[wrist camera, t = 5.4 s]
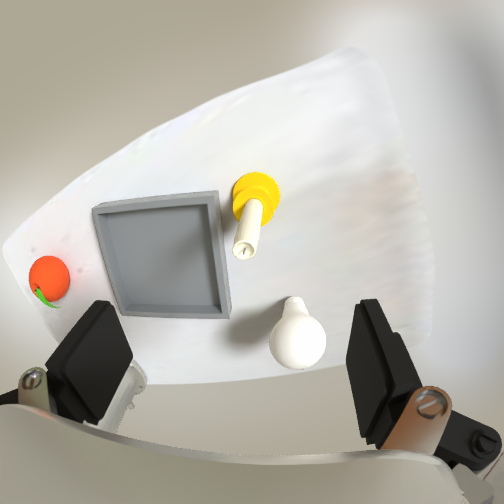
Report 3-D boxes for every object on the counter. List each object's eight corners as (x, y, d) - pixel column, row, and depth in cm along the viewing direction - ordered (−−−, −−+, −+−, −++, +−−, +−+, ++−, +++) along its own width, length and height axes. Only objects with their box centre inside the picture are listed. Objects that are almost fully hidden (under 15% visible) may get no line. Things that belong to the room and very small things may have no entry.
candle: (288, 202, 32) (302, 267, 17) (249, 225, 33) (232, 303, 19) (263, 162, 30) (255, 195, 16) (223, 188, 31) (183, 241, 17)
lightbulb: (326, 297, 36) (341, 357, 26) (295, 326, 39) (300, 387, 29) (291, 271, 35) (297, 329, 25) (260, 303, 37) (256, 364, 27)
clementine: (88, 285, 38) (64, 311, 32) (65, 297, 40) (42, 321, 34) (61, 241, 36) (32, 262, 29) (40, 257, 37) (14, 278, 31)
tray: (231, 307, 38) (229, 318, 36) (128, 305, 39) (121, 315, 37) (218, 190, 31) (213, 195, 29) (101, 202, 33) (91, 208, 31)
